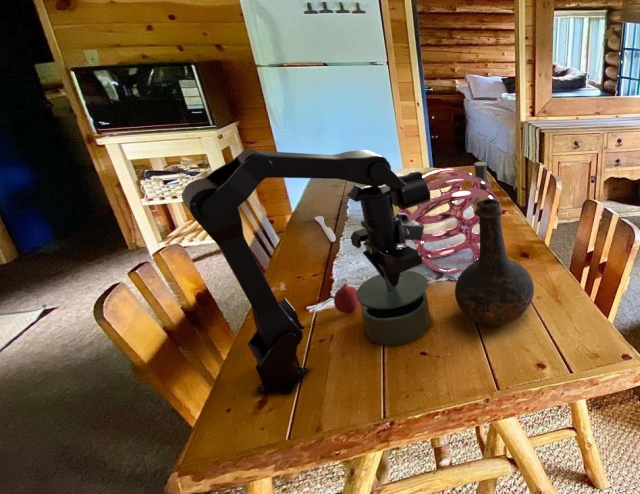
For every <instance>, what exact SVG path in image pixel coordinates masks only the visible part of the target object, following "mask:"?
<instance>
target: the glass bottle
mask: <svg viewBox="0 0 640 494" xmlns="http://www.w3.org/2000/svg"><path fill="white" fill-rule="evenodd" d="M499 201H500V200H499ZM499 201H497V200H494V199H485V200H481V201H479V202H478V208H477V209H476V210H475V215H477V216H479V222H478V224H479V232H480V242H479V248H480V253H479V259H478V260H476V261H475V260H474V263H471V264H470V265H468V266H467V267H466V268H464V269H463V271H461V272H460V274H459V276H458V278H457V279H456V283H455V287H454V296H455V301H456V304H457V306H458V307H459V309H460V310H461V312H462V313H463V314H464V315H465V316H466V317H467V318H468V319H470V320H471V321H473V322H475V323H477V324H480V325H483V326H489V327H496V326H497V327H498V326H503V325H504V326H505V325H507V324H509V323H512V322H514V321H516V320H518V319H519V318H521V317H522V316H523V315H524V314H525V312H527V310H528V309H529V307H530V305H531V303H532V302H533V298H534V295H535V293H534V292H535V285H534V281H533V278H532V276H531V274H530V273H529V271H528V270H527V269H526V268H525V267H524V266H523V265H521V264H520V263H519V262H517V261H514V260H512V259H510V258H509V256H508V253H507V249H506V245H505V240H504V235H503V227H502V220H501V219H500V216H501V217H502V215H503V212H502V213H501V212H500V204H501V201H500V202H499Z"/></svg>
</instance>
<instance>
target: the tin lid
mask: <svg viewBox="0 0 640 494" xmlns="http://www.w3.org/2000/svg"><path fill="white" fill-rule="evenodd" d="M384 277H385V280H384V279H383V277H382V276H381V275H380V273H378V274H376V275H374V276H372V277H369V278H368V279H366V280H365V281H364V282H363V283H361V284H360V286H359V287H358V288H357V293H356V295H357V299H358V301H359V302H360V303H361V304H360V305H361V306H362V305H364V306H366V307H369V308H373V309H392V308H397V307H401V306H404V305H407V304H410V303H412V302H414V301H416V300H417V299H419V298H420V297H421V296H422V295H423V294H424V293H427V290H428V288H429V282H428V278H426V276H424V275H423V274H422V273H420V272H418V271H413V270H406V271H404V272H401V273H400V277H399V282H398V285H397V286H395V287H393V286H392V285H391V283H390V282H389V280H388V279H387V277H386V276H385V274H384Z"/></svg>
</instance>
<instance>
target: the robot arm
mask: <svg viewBox="0 0 640 494" xmlns="http://www.w3.org/2000/svg"><path fill="white" fill-rule="evenodd" d="M422 176H423V173H422V172H420V171H418V170H414V171H410V172H409V173H405V174H402V175H397V174H396V173H395V172H394V171H393V170H392V166H391V164H390V162H389V160H388V159H387V158H386V157H384V156H382V155H380V154H377V153H374V152H373V151H371V150H366V149H359V150H349V151H344V152H340V153H338V154H337V153H336V154H323V153H321V154H320V153H304V152H303V153H302V152H285V151H269V150H258V149H255V148H248V149H244V150H243V151H241V152H240V153H239V154H238V155H237V156H236V157H234V158H233V159H232V160H230V161H228V162H226V163H225V164H223V165H220V166H219V167H218V168H216V169H214V170H213V171H212V172H210V173H209V174H207V176H205V177H204V178H200V179H199V178H198V179H195V180H193V181H190V182H189V183H188V184H187V185H185V187H184V189H183V191H182V192H181V199H182V202H183V204H184V206H185V207H186V209H187V210H188V212H189V214H190V215H191V216H192V218H193V219H194V220H195V221H196V222H197V223H198V224H199V226H201V228H202V229H203V230H204V231H205V233H207V235H208V236H209V237H210V238H211V240H213V241H214V243H216V245H217V247H218V248H219V250H220V253H221V254H222V256H223V257H224V260H225V261H226V263H227V265H228V266H229V268H230V270H231V272H232V273H233V275H234V277H235V279H236V281H237V282H238V284H239V286H240V287H241V290H242V292H243V293H244V295H245V297H246V298H247V300H248V302H249V304H250V305H251V310H252V316H253V317H252V318H253V320H254V325H255V329H256V330H255V332H254V333H253V334H252V336H251V338H250V339H249V341H248V342H247V346H248V348H249V350H250V352H251V353H252V355H253V357H254V358H255V360H256V365H255V370H256V372H257V375H258V377H259V380H260V382H261V383H260V384H259V386H258V387H257V388H256V392H257V393H261V394H281V395H289V394H291V393H292V392H293V391H294V390H295V388H296V387H297V386H298V385H299V384H300V382H301V380H302V379H304V376H305V375H306V374H307V373H308V371H309V369H308V367H306V366H301V365H300V361H299V358H298V354H297V351H298V346H299V345H300V344H301V342H302V341H303V339H304V334H303V330H305V329H306V327H305V326H304V325H303V324H302V322H301V321H300V319H299V315H298V313H297V311H296V309H295V308H294V306H292V304H291V303H290V302H289V301H288V300H287V298H286V297H284V298H283V299H281V300H280V301H278V300H277V298H276V296H275V294H274V292H273V290H272V287H271V286H270V284H269V281H268V280H267V278H266V276H265V274H264V273H263V270H262V269H261V267H260V264H259V263H258V261H257V259H256V257H255V255H254V253H253V251H252V249H251V247H250V245H249V243H248V241H247V240H246V237H245V234H244V227H243V219H242V216H241V212H240V209H239V207H240V206H241V205H242V204H243V203H245V202H246V201H247V200H248V199H249V198H250V196H251V195H252V194H253V193H254V191H255V190H256V189H257V188H258V186H259V185H260V184H261V183H262V182H263V181H265V179H267V178H270V179H271V178H272V179H273V178H275V179H276V178H277V179H320V180H321V179H323V180H324V179H328V180H330V179H331V180H333V179H334V180H342V181H347V182H351V183H355V184H354V185H353V187H352V189H350V191H348V193H347V194H346V197H347V198H349V199H350V200H352V201H353V202H355V203H356V202H357V203H358V202H360V206H361V211H362V217H363V220H361V221H360V226H361V227H362V228H360V229H358V230H355V231H353V232H352V233H351V235H350V241H351V245H352V246H353V247H355V248H356V249H361V247H362V245H363V246H364V247H365V250H364V251H363V252H362V254H363V256H365V258H366V259H367V260H368V261H369V263H371V265H372V266H373V267H374V269H375V270H376V271H377V273H378V274H380V275H381V276H382V277H383V279H384V280H385V277H384V274H385V276H386V277H387V279H388V280H389V282H390V283H391V285H392V286H393V287H395V286H397V285H398V282H399V277H400V273H401V272H404V271H406V270H407V271H409V270H411V269H414V268H415V267H418V266H421V265H422V264H424V263H423V262H424V261H423V259H422V254H421V253H420V252H418V251H416V250H414V249H415V248H413V247H412V246H409V245H408V246H406V247H403V246H401V245H402V244H404V243H406V241H407V240H409V241H411V240H418V241H420V240H422V236H423V233H424V229H425V224H423V225H422V224H420V223H418V222H416V221H413V220H411V219H409V220H408V216H407V215H405V214H403V213H398V212H397V213H396V214H395V210H394V207H397V208H400V209H401V210H404V209H410V208H414V207H417V205H421V204H424V203H427V202H429V200H430V198H431V190H429V189H428V186H427V184H428V183H427V182H426V181H425V180H424V179H423V177H422ZM358 184H359V185H364V186H363V187H361V186H359V185H358ZM405 239H406V241H405ZM362 242H363V243H362ZM406 244H407V243H406ZM399 245H400V246H399Z"/></svg>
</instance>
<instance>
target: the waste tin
mask: <svg viewBox="0 0 640 494" xmlns="http://www.w3.org/2000/svg"><path fill="white" fill-rule="evenodd" d="M429 309H430V308H429V301H428V295H427V292H425V293H424V294H423V295H422V296H421V297H420V298H419V299H417V300H416V301H414V302H412V303H410V304H407V305H404V306H401V307H397V308H392V309H373V308H369V307H366V306H364V305H362V304H361V315H362V319H363V322H364V328H365V333H366V335H367V337H368V339H369V340H370V341H371V342H373V343H374V344H377V345H381V346H385V347H386V346H387V347H389V346H390V347H391V346H401V345H404V344H408V343H411V342H413V341H415V340H417V339H419V338H420V337H422V336H423V335H424V334H425V333H426V332H427V331H428V329H429V328H430V325H431V315H430V310H429Z"/></svg>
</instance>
